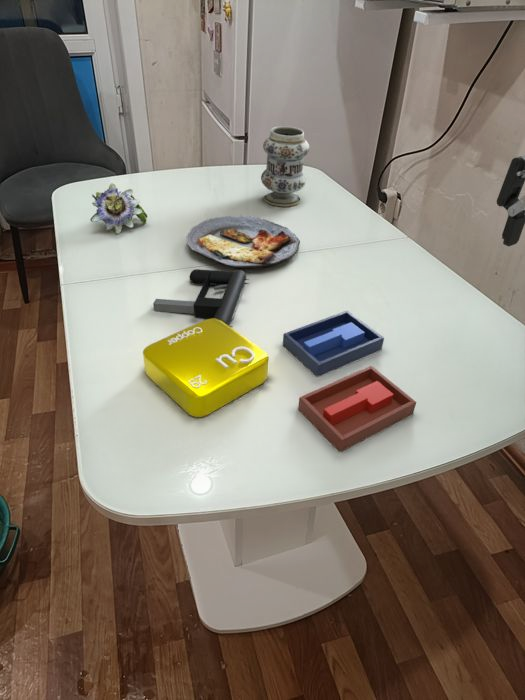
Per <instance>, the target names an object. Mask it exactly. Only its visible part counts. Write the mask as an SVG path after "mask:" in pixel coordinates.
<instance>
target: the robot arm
mask: <svg viewBox="0 0 525 700" xmlns="http://www.w3.org/2000/svg"><path fill="white" fill-rule="evenodd" d="M524 184H525V154H524V155H520V156H516V157H513V158H512V160H511V161H510V164H509V167H508V169H507V172H506V174H505V178H504V180H503V182H502V185H501V187H500V190H499V193H498V196H497V199H496V205H497V206H498V207H499V208H500V207H502V208H504V209H505V210H506V211H507V218H506V221H505V225H504V228H503V231H502V234H501V237H502V240H503V241H502V245H504V246H506V247H511V246H512V247H513V246H514V245H516V244H518V242H519V241H520V238H521V236H522V233H523V229H524V227H525V194H524V195H523V196H522V197H520V194H521V191H522V189H523V187H524ZM519 197H520V198H519Z"/></svg>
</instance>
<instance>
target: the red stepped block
mask: <svg viewBox="0 0 525 700" xmlns="http://www.w3.org/2000/svg"><path fill="white" fill-rule="evenodd" d="M393 396H394V394H393V393H392V392H390V391H389V390H388V389H387V388H386V387H384V386H383V385H382V384H381V383H380V382H378V381H376V382H373V383H371V384H369V385H367V386H365V387H363V388H361V389H358V390H356V393H355V395H353V396H351V397H349V398H346V399H344V400H342V401H340V402H338V403H336V404H334V405H331V406H329V407H327V408H325V409H324V412H323V417H324V418H325V419H326V420H327V421H328V422H329V423H330V424H331V425H332V426H333V425H335V424H337V423H339V422H341V421H343V420H345V419H347V418H349V417H351V416H353V415H355V414H357V413H359V412H361V411H363V410H365V409H366V410H367V411H368V412H369V413H372V412H374V411H376V410H378V409H380V408H382V407H384V406H386V405H388V404H390V403H392V400H393Z"/></svg>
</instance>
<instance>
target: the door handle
mask: <svg viewBox="0 0 525 700" xmlns="http://www.w3.org/2000/svg"><path fill="white" fill-rule="evenodd" d="M247 280H248V281H249V280H250V279H249V278H247V275H246V272H245V271H244V270H241V269H236V270H234V271H232V270H229V271H228V270H215V269H199V268H198V269H197V268H196V269H193V270H191V272H190V274H189V281H190V282H191V283H193V284H203V285H202V287H201V289H200V291H199V293H198V295H197V297H196V299H195V301H194V300H193V301H192V300H182V299H181V300H180V299H166V298H165V299H163V298H155V300H154V301H153V303H152V305H153V311H154V312H163V313H165V312H166V313H178V314H192V315H193V316H194V318H195V319H202V320H207V319H211V318H215V319H218V320H220V321H222V322H224V323H225V324H227V325H228V326H229V327H231V328H233V327H234V326H232V325H230V324H231V321H232V320H234V316H235V314H236V311H237V308H238V306H239V303H240V300H241V297H242V291H243V288H244V286H245V285H250V283H248V282H246V281H247ZM211 285H215V286H213V287H212V288H213V290H214V291H218V290H220V289H225V290H224V292H223V295H222V297H221V298H217V297H206V295H207V294H208V291H209V289H210V287H211Z"/></svg>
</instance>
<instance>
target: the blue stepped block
mask: <svg viewBox="0 0 525 700" xmlns="http://www.w3.org/2000/svg"><path fill="white" fill-rule="evenodd" d="M364 334H365V332H364V331H362V330H361V329H360V328H358V327H357V326H356V325H354V324H353V323H352V322H350V323H348V324H345V325H343V326H340V327H337V328H335V329H332V332H329V333H326V334H324V335H321V336H319V337H316V338H313V339H311V340H308V341H306V342H304V345H303V348H304V349H305V350H306V351H307V352H309V353H310V354H311V355H312V356H315V355H317V354H320V353H322V352H325V351H327V350H330V349H332V348H335V347H337V346H340V345H341V346H342V347H343V348H346V347H349V346H351V345H354V344H356V343H358V342H361V341H363V339H364Z"/></svg>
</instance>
